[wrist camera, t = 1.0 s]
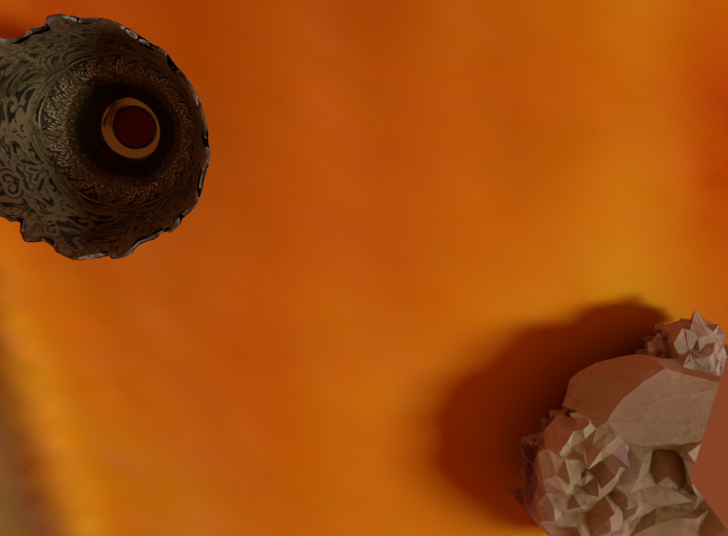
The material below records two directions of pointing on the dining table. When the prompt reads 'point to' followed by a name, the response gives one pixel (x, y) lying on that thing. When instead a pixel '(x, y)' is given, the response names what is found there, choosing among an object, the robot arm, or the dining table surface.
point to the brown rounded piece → (95, 138)
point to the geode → (629, 441)
